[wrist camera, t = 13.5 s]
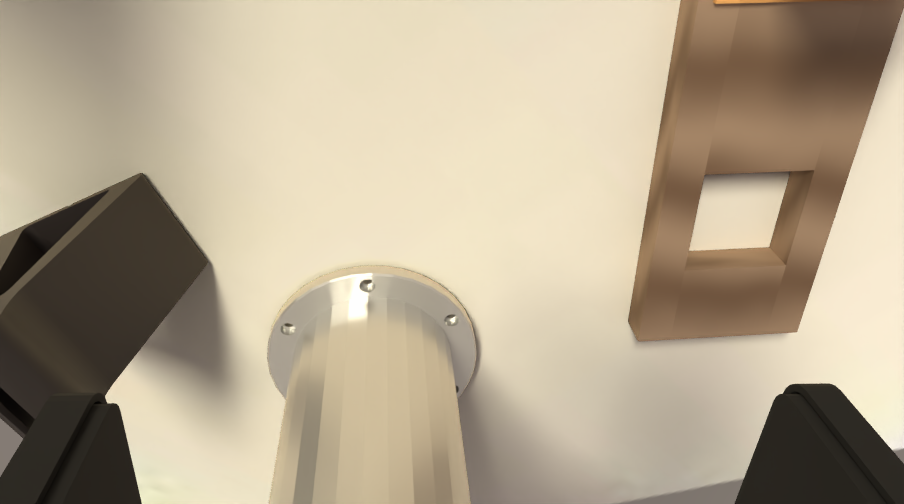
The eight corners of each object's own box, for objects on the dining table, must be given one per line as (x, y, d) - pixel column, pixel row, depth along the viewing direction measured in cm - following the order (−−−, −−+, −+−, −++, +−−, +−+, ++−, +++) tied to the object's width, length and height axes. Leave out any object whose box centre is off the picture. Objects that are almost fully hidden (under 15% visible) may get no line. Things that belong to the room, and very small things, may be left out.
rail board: (781, 312, 44) (799, 335, 42) (627, 321, 44) (639, 344, 42) (981, -337, 27) (1026, -350, 25) (736, -341, 27) (764, -353, 25)
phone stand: (73, 317, 40) (-33, 485, 30) (-2, 235, 37) (-148, 393, 27) (209, 260, 39) (148, 415, 29) (144, 171, 36) (49, 309, 25)
